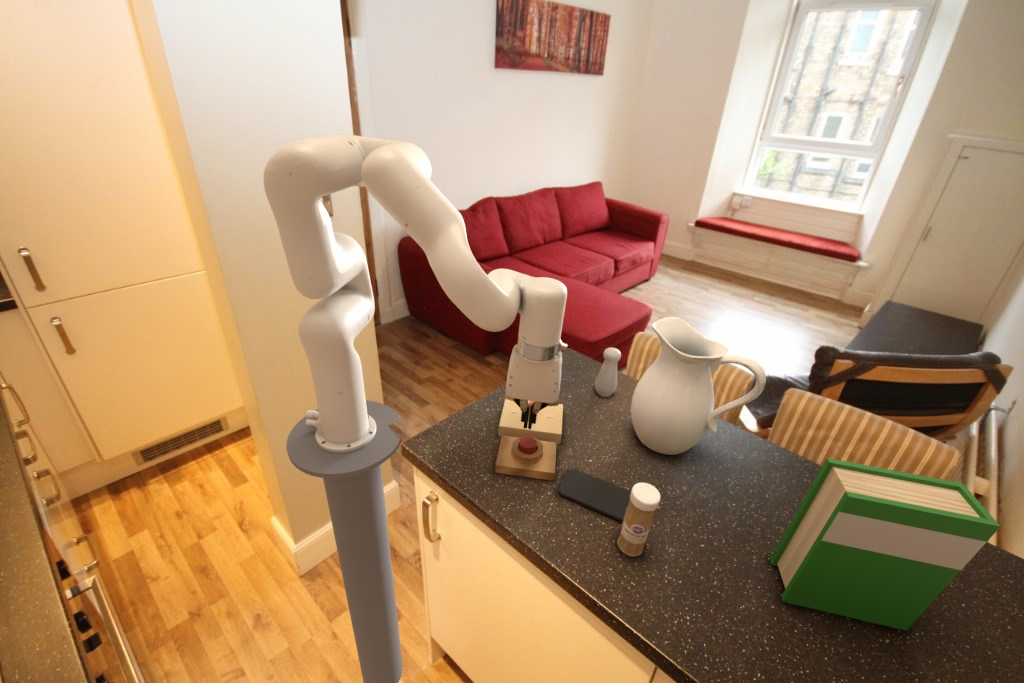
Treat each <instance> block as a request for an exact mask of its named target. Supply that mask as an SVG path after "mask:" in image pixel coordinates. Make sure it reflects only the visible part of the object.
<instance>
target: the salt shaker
mask: <svg viewBox="0 0 1024 683" xmlns="http://www.w3.org/2000/svg"><path fill="white" fill-rule="evenodd" d="M602 356H603V362H602V365H601V367H600V370H599V372H598V374H597V376H596V378H595V381H594V388H595V391H596V394H598V395H599V396H601V397H604V398H610V397H611V395H613V393H615V392H616V390H617V388H618V362H620V360H621V359H622V358H621V357H622V353H621V351H620V350H619V349H618V348H616V347H607V348H605V349H604V351H603V355H602Z"/></svg>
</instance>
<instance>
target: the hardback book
mask: <svg viewBox="0 0 1024 683" xmlns="http://www.w3.org/2000/svg"><path fill="white" fill-rule="evenodd" d="M1000 528H1001V525H1000V524H999V522H998V521H997V520H996V519H995V517H993V516H992V514H990V513H989V511H988V510H987V509H986V508H985V507H984V505H982V503H981V502H980V501H979V500H978V498H976V496H974V494H973V493H972V492H971V491H970V489H969V488H967V487H966V485H965V484H964V483H963V482H957V481H952V480H947V479H943V478H942V479H941V478H937V477H931V476H925V475H920V474H917V473H916V474H915V473H910V472H904V471H899V470H895V469H894V470H893V469H888V468H883V467H877V466H872V465H867V464H862V463H856V462H852V461H851V462H850V461H846V460H840V459H835V458H829V457H826V459H825V461H824V462H823V464H822V466H821V467H820V469H819V471H818V473H817V475H816V477H815V478H814V480H813V482H812V484H811V486H810V487H809V489H808V491H807V493H806V494H805V496H804V498H803V500H802V502H801V504H800V505H799V507H798V508H797V510H796V512H795V514H794V517H793V518H792V519H791V521H790V523H789V525H788V527H787V529H786V531H785V533H784V534H783V536H782V538H781V540H780V542H779V543H778V545H777V547H776V548H775V550H774V552H773V554H772V556H771V557H770V560H769V561H770V565H771V566H775V567H777V568H778V571H779V573H780V576H781V580H782V583H783V586H784V591H783V592H782V594H781V600H782V603H783V602H784V603H788V604H792V605H796V606H800V607H804V608H807V609H808V608H809V609H812V610H818V611H820V612H826V613H829V614H835V615H838V616H842V617H847V618H851V619H855V620H860V621H864V622H868V623H872V624H876V625H880V626H885V627H890V628H893V629H898V630H901V631H908V629H909V628H911V627H912V626H913V624H914V623H915V622H916V621H917V620H918V619H919V617H920V616H921V615H922V614H923V613H924V612H925V611H926V609H928V607H929V606H931V605H932V603H933V602H934V601H936V599H937V598H938V597H939V595H941V593H942V592H943V591H944V590H945V589H946V588H947V586H948V585H950V583H951V582H952V581H953V580H954V579H955V578H956V576H958V574H959V573H960V572H961V571H962V570H963V569H964V568H965V567H966V566H967V564H968V563H969V562H971V560H972V559H973V558H974V557H975V556H976V554H978V553H979V551H980V550H981V549H982V548H983V547H984V546H985V545H986V543H987V542H989V540H990V539H991V538H992V537H993V536H994V535H995V533H997V532H998V530H999V529H1000Z"/></svg>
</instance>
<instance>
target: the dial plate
mask: <svg viewBox="0 0 1024 683" xmlns="http://www.w3.org/2000/svg"><path fill="white" fill-rule="evenodd" d="M529 402H530V401H529V400H528V403H529ZM563 411H564V404H563V403H559V405H558V406H547V407H545V408H543V409H542V410H540V411H539V413H538V414H537V417H536V424H533V423H532V427H531V429H529V428H528V425H527V428H526V429H525V428H523V427H524V422H521V415H522V411H521V409H520V407H519V406H518V405H517V404H516V403H515V402H514V401H511V400H508V399H505V398H504V403H503V406H502V411H501V415H500V419H499V423H498V435H497V436H498V437H500V438H501V437H502V435H503V436H511V437H518V438H519V437H523V436H530V437H534V438H536V439H538V440H540V441H547V442H555V443H556V445H561V442H562V435H563V416H564V415H563V414H564V412H563ZM528 423H529V422H528Z"/></svg>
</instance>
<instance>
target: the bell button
mask: <svg viewBox="0 0 1024 683" xmlns="http://www.w3.org/2000/svg"><path fill="white" fill-rule="evenodd" d="M536 447H537V441H536V439H535V438H533V437H530V436H525V437H522V438H521V439H520V442H519V450H520V451H521V452H522V453H524V454H533V453H534V452H535V451H536Z"/></svg>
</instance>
